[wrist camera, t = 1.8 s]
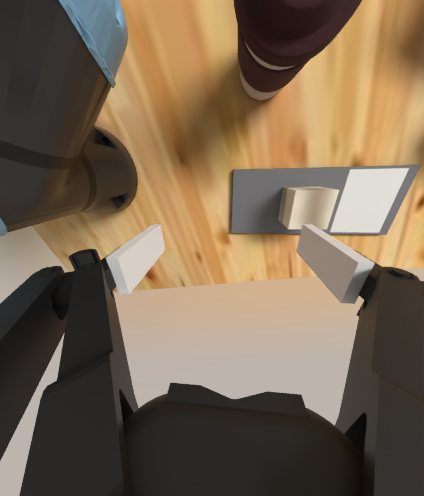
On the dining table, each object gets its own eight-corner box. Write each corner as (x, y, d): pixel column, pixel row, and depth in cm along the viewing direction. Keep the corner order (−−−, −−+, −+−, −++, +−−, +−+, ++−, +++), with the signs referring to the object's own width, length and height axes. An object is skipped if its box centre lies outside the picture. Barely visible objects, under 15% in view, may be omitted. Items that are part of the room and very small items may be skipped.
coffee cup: (296, 106, 24) (384, 25, 11) (232, 117, 25) (237, 56, 12) (306, 6, 20) (469, -333, 7) (228, 25, 21) (229, -227, 8)
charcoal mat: (231, 231, 34) (231, 233, 33) (233, 169, 29) (233, 169, 28) (382, 233, 31) (386, 234, 31) (415, 165, 26) (420, 165, 25)
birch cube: (277, 219, 31) (288, 229, 26) (282, 186, 29) (295, 190, 23) (309, 219, 31) (326, 229, 25) (317, 186, 28) (339, 189, 23)
